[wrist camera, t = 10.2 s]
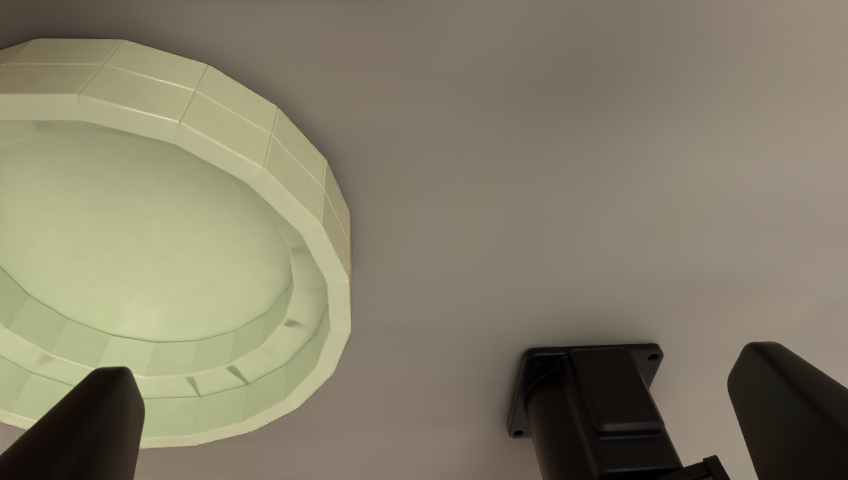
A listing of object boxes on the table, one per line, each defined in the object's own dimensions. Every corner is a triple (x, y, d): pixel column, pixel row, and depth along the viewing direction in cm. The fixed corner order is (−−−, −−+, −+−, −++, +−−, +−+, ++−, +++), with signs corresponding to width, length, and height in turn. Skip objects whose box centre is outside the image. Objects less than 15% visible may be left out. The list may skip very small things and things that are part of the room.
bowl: (356, 358, 26) (356, 437, 23) (12, 372, 25) (-37, 458, 22) (343, 36, 17) (340, 95, 14) (-194, 29, 16) (-327, 93, 13)
